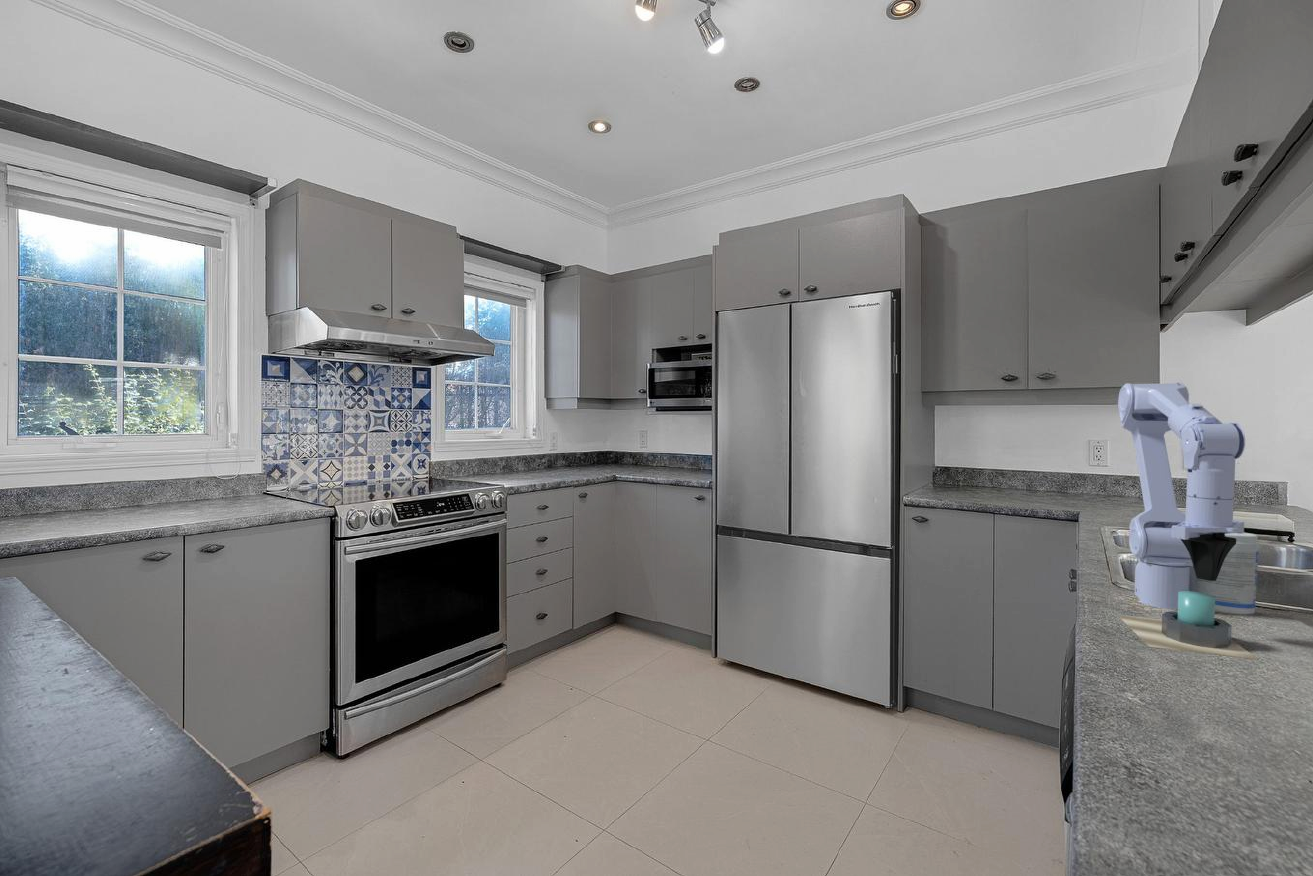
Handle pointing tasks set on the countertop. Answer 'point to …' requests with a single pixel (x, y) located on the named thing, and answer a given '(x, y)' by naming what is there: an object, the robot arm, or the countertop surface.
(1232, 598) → the supplement tub
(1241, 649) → the pale board
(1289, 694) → the countertop surface
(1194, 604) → the teal plug
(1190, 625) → the grey faceted ring
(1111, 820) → the countertop surface
